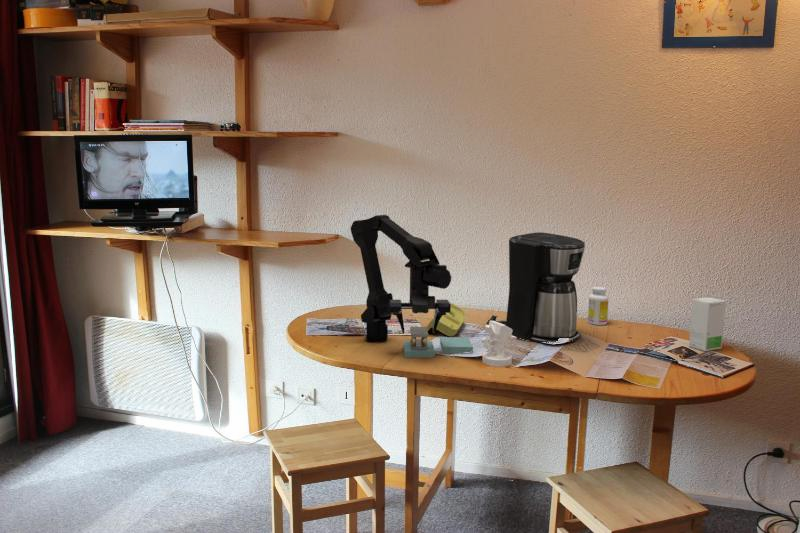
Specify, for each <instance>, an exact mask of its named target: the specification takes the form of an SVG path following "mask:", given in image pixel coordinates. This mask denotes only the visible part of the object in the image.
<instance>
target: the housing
mask: <svg viewBox="0 0 800 533" xmlns="http://www.w3.org/2000/svg"><path fill="white" fill-rule="evenodd" d="M426 327H427V326H409V332H410V339H409V341H410V346H411V350H428V345H427V341H428V339H427V338H428V337H429V333H428V332H429V331H428V332H427V328H426Z"/></svg>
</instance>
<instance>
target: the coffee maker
mask: <svg viewBox="0 0 800 533" xmlns="http://www.w3.org/2000/svg"><path fill="white" fill-rule="evenodd" d="M585 245H586V244H585V241H583V240H581V239H579V238H574V237H571V236H567V235H563V234H561V235H560V234H555V233H549V232H540V231H539V232H538V231H537V232H531V233H529V232H528V233H524V234H519V235H513V236H512V237H509V240H508V259H509V260H508V270H509V271H508V274H509V275H508V276H509V277H508V280H509V281H508V285H509V287H508V288H509V289H508V299H507V300H508V301H507V309H506V310H507V311H506V320H497V318H498V315H493V314H492V316H491V317H490V319H488V320H487V321H486V325H489V321H496V322H498V323H501V324H504V325H505V326H507V327H509V328H511V329H512V330H513V331H512V336H515V337H517V338H516V339H518V338H521V339H520V340H522V339H524V340H523V341H525V340H533V341H532V342H534V341H537V342H536V343H539V342H546V343H547V342H548V343H549V342H556V341H558V339H559V338H569V341H572V340H574V341H575V339H576V340H577V339H579V338H580V336H581V335H582V334H581V332H580V331H577V324H578V323H577V321H578V320H577V319H578V318H577V317H578V316H577V315H578V314H577V313H578V296H577V289H576V284H575V281H574V280H572V279H573V277H574V276H576V274H578V273H579V270H580V267H581V263H582V260H583V256H584V253H585ZM572 342H573V341H572Z"/></svg>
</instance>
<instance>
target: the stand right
mask: <svg viewBox="0 0 800 533" xmlns="http://www.w3.org/2000/svg"><path fill="white" fill-rule="evenodd" d="M439 339H440V341H439V343H440V347H441V350H442V353H443V354H464V353H463V352H471V351H472V352H473V353H474V346H473V345H472V344H473V343H472V342H471V340H470V338H469V337H465V336H464V337H440V338H439ZM460 352H461V353H460Z"/></svg>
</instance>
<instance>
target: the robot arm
mask: <svg viewBox="0 0 800 533" xmlns="http://www.w3.org/2000/svg"><path fill="white" fill-rule="evenodd" d="M379 231H380V232H381V233H382V234H384V235H385V236H386V237H388V238H389V239H390V240H391V241H393V242H394V243H395V244H396V245H398V246H399V247H400V248H401V250H402V252H403V255H404V256H405V257H406V258H407V259H408V262H406V263H405V264H404V267H405V268H408V269H409V302H402V300H401V299H393V298H394V296H393V293H391V292H390V293H389V292H387V290H386V289H385V286H384V282H383V277H382V272H381V266H380V261H379V256H378V252H377V246H376V244H377V241H378V237H379ZM350 232H351V236H352V239H353V241H354V242H353V243H355V244H356V245H357V247H358V248H359V249H360V253H361V258H362V259H361V260H362V264H363V269H364V274H365V279H366V283H367V288H368V295H367V298H366V301H365V303H366V309H364V311H363V312H362V313H361V314H360V319H361V322H362V323H365V325H366V326H365V327H366V334H365V337H366V338H365V341H366V343H369V342H374V343H377V342H383V343H384V342H387V339H388V338H389V336H388V335H389V334H388V332H389V331H388V330H389V326H388V323H387V322H386V321H389V320H391V319H392V316H396V318H397V320H398V323H399V326H400V329H401V333H402V334H403V335H404V334H405V325H404V317H403V310H411V313H413V314H418V313H419V314H421V313H422V314H428V313H429V310H434V314H433V319H434V322H433V328H432V334H433V335H435V333H436V331H437V329H436V328H437V325H438V322H439V320H440V318H441V317H442V316H443V315H446V313H449V312H451V305H450V303H451V302H450V301H449V300H448V299H436V296H435V295H429V294H430V293H429V290H430V289H429V288H430V287H432V288H437V289H438V288H439V289H443V290H445V289H447V288H448V287H449V286H450V285H451V282H452V275H451V272H450V271H449V269H448V268H447V265H446V264H441V263H440V261H439V259H438V257H437V255H436V252H435V251H434V249H433V245H432V244H431V242H429V241H428V240H425V239H423V238H421V237H417V236H414V235H412V234H411V233H410V232H408V231H406V230H405V229H404V228H403V227H402V226H400V225H399V224H398V223H396V222H395V221H393V220H392V219H391V218H390V216H389V215H388V214H387V215H386V214H380V215H377V214H376V215H374V216H373V217H370V218H367V219H359V220H354V221H353V222H352V224H351V226H350ZM449 302H450V303H449Z"/></svg>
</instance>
